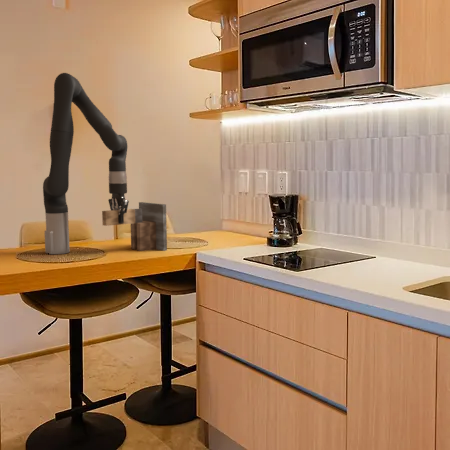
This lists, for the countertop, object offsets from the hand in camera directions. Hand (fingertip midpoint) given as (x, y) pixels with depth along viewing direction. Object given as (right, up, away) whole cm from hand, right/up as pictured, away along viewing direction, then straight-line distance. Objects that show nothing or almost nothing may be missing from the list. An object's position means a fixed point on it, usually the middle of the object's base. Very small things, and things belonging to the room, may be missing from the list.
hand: (119, 222), depth 230 cm
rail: (+2, 0, +1) cm, 2 cm away
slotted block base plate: (+9, -12, +9) cm, 17 cm away
